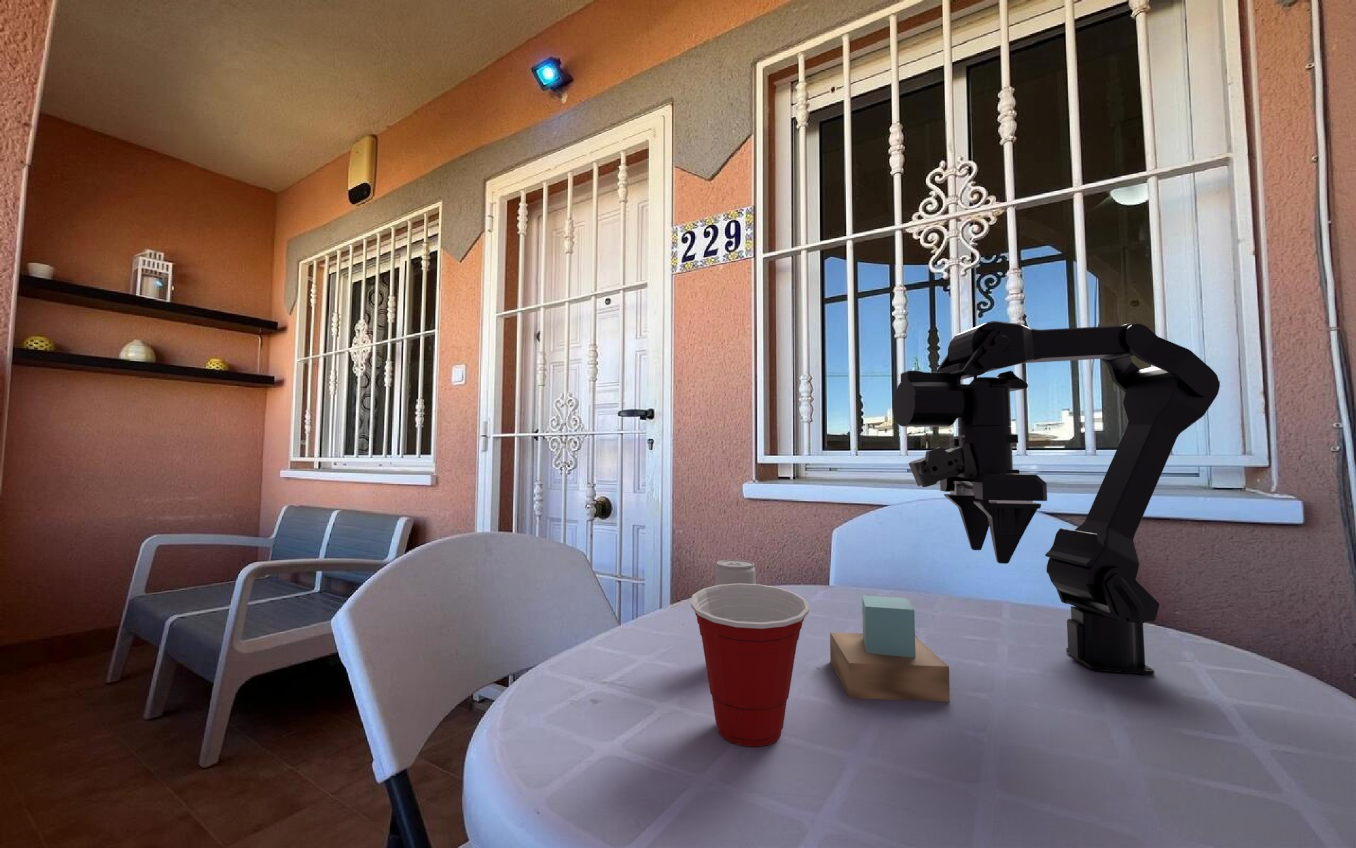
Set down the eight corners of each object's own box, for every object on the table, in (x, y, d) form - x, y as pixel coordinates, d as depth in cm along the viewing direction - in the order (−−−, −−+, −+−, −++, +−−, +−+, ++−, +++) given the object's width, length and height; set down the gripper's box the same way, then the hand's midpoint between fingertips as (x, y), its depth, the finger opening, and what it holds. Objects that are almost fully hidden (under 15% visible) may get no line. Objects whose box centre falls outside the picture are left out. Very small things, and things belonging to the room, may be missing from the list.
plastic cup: (696, 768, 43) (696, 614, 44) (685, 706, 54) (685, 584, 55) (829, 763, 44) (827, 612, 45) (792, 703, 55) (790, 582, 56)
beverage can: (754, 673, 62) (754, 567, 63) (713, 670, 63) (713, 565, 64) (757, 658, 67) (756, 560, 68) (718, 655, 68) (718, 558, 69)
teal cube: (908, 642, 63) (907, 598, 63) (915, 657, 58) (914, 609, 58) (862, 638, 64) (862, 595, 64) (866, 653, 59) (865, 606, 60)
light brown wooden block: (915, 669, 65) (914, 635, 66) (949, 706, 55) (948, 666, 56) (830, 666, 66) (830, 632, 66) (849, 702, 56) (849, 663, 56)
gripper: (900, 431, 77) (902, 542, 76) (931, 423, 59) (936, 568, 58) (985, 431, 75) (989, 545, 74) (1046, 421, 57) (1052, 573, 56)
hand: (988, 556), depth 66 cm, fingers open, 9 cm apart
